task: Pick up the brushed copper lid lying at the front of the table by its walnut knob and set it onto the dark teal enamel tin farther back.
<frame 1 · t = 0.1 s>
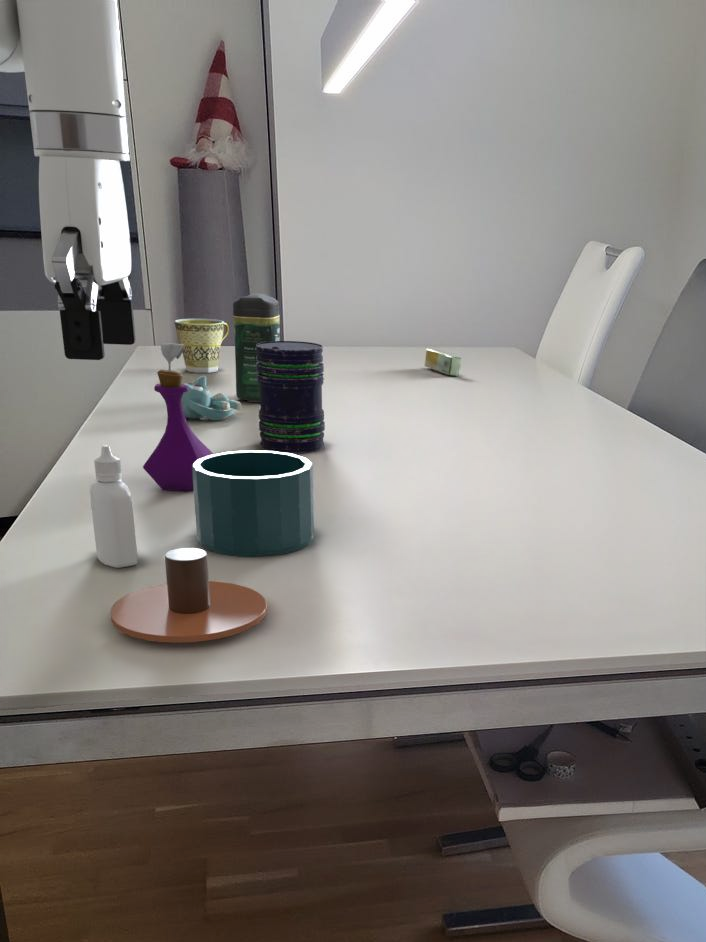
hand: (102, 351, 93), 22 cm above the table, tool pointing down, fingers open, 9 cm apart
tin: (256, 538, 116), on the table
tin lid: (190, 612, 93), point 1 cm above the table
ceramic cup: (207, 370, 220), on the table
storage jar: (292, 447, 158), on the table
coffee jar: (260, 399, 192), on the table
perfume bottle: (182, 487, 134), on the table
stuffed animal: (207, 417, 175), on the table
medication box: (442, 373, 230), on the table
eye dropper bottle: (117, 562, 107), on the table
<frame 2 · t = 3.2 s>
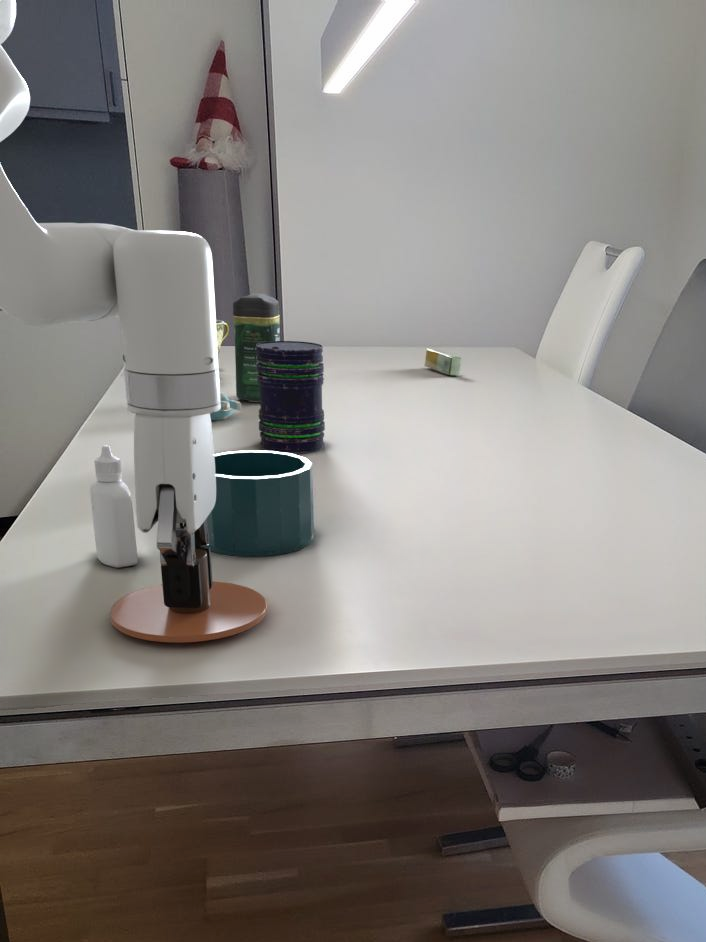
hand: (188, 595, 93), 2 cm above the table, tool pointing down, fingers closed on tin lid, 3 cm apart
tin lid: (190, 612, 93), point 1 cm above the table, touching gripper
everything else where it was.
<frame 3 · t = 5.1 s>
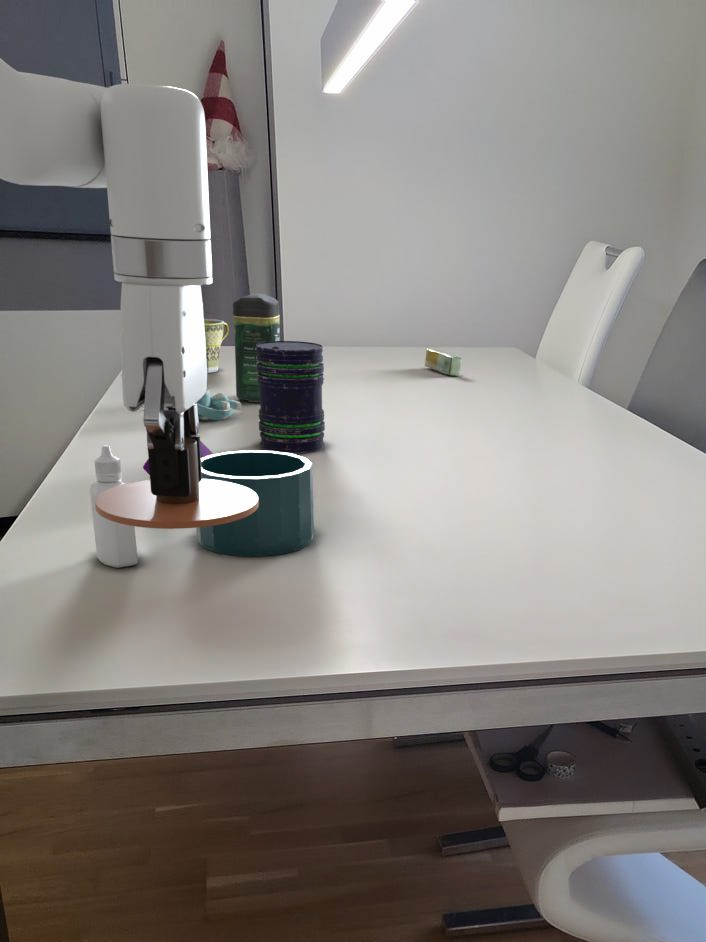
hand: (177, 486, 89), 12 cm above the table, tool pointing down, fingers closed on tin lid, 3 cm apart
tin lid: (178, 505, 89), point 11 cm above the table, touching gripper
everything else where it was.
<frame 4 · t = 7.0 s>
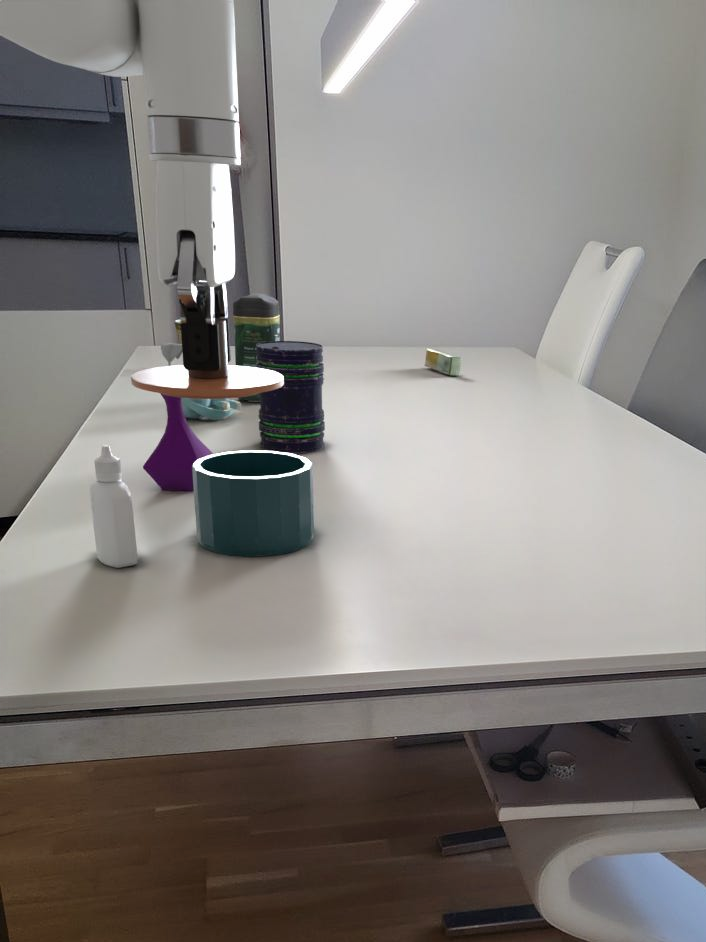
hand: (207, 364, 94), 21 cm above the table, tool pointing down, fingers closed on tin lid, 3 cm apart
tin lid: (209, 382, 95), point 19 cm above the table, touching gripper
everything else where it was.
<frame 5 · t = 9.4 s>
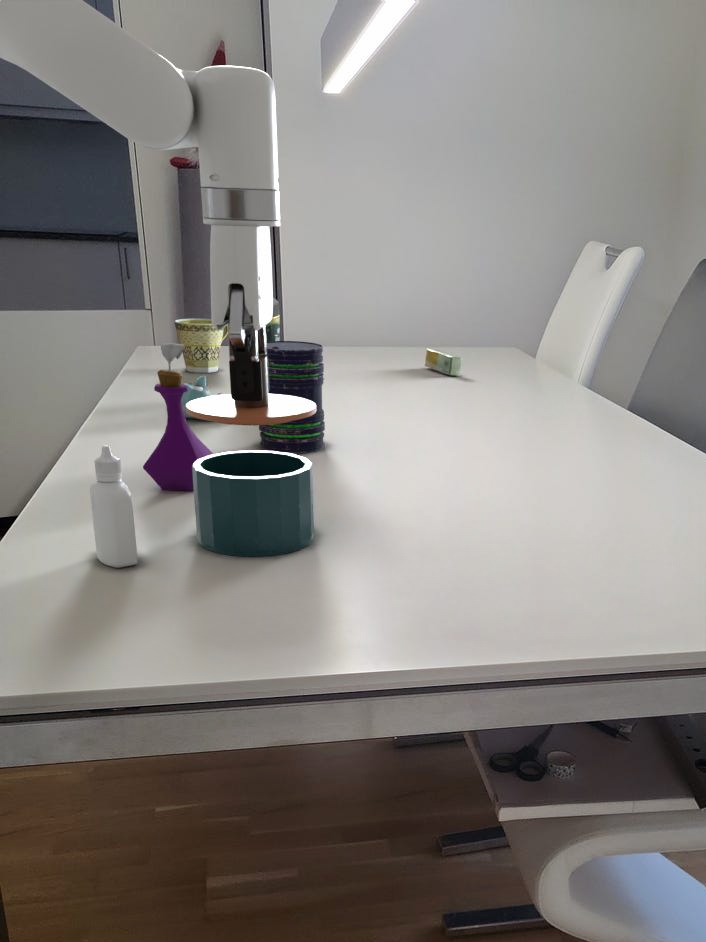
hand: (250, 394, 109), 16 cm above the table, tool pointing down, fingers closed on tin lid, 3 cm apart
tin lid: (252, 410, 110), point 14 cm above the table, touching gripper
everything else where it was.
when the fingers open (10 cm above the table, at t = 11.1 s): tin lid stays where it is, resting on tin.
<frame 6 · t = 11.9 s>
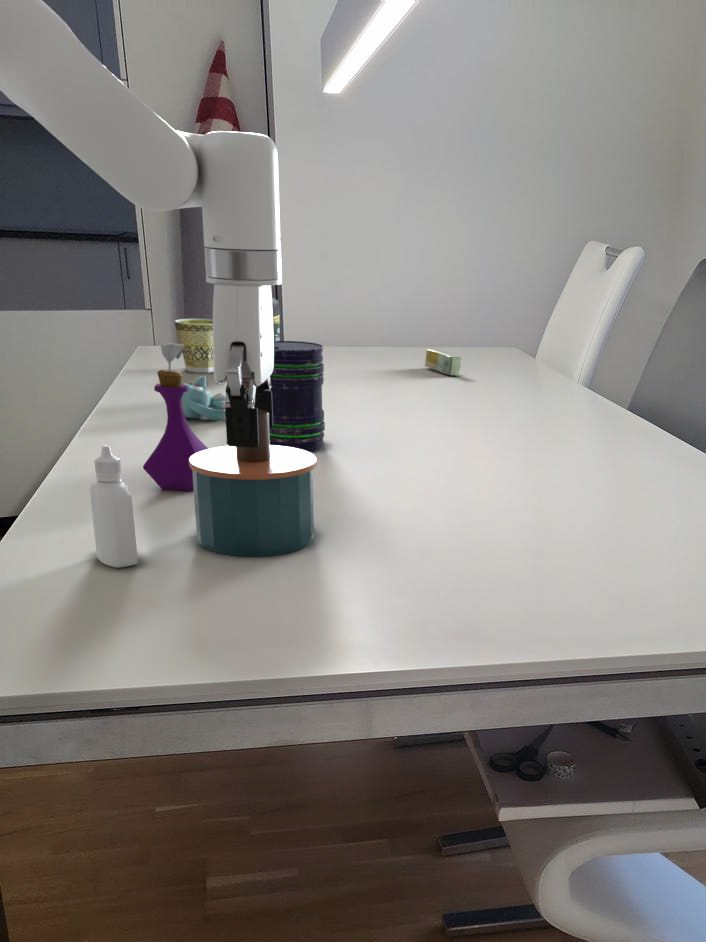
hand: (251, 436, 111), 12 cm above the table, tool pointing down, fingers open, 9 cm apart
tin lid: (253, 463, 112), point 8 cm above the table, touching tin
everything else where it was.
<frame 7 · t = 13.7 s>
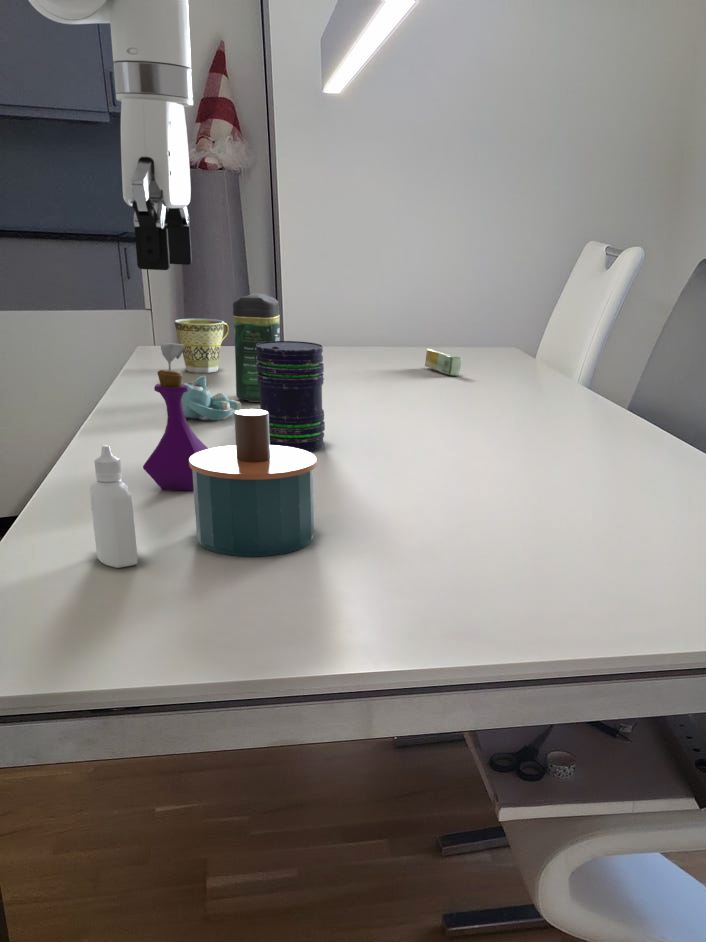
hand: (166, 266, 111), 28 cm above the table, tool pointing down, fingers open, 9 cm apart
nothing on the table moved.
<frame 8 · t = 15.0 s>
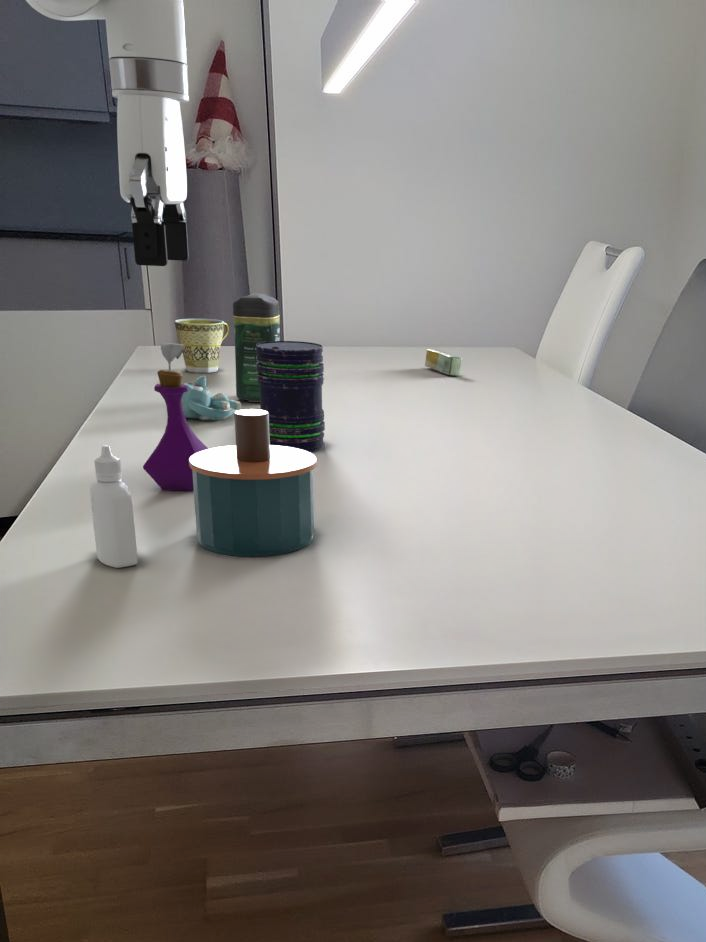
hand: (163, 262, 111), 28 cm above the table, tool pointing down, fingers open, 9 cm apart
nothing on the table moved.
at the end: tin lid 0.1 cm off-centre on the tin, point 8.5 cm above the tin's base; tin lid tilted 0° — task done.
